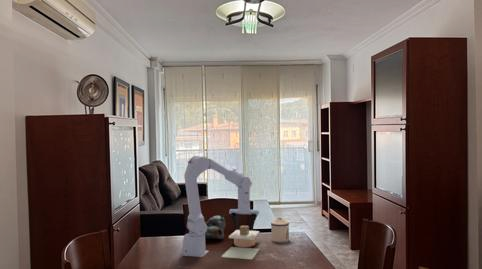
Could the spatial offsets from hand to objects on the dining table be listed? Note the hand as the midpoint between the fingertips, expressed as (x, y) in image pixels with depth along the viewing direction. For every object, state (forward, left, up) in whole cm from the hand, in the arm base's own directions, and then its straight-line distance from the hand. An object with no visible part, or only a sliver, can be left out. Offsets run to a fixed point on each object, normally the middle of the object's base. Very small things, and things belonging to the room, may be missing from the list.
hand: (244, 229), depth 175 cm
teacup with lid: (+15, +12, -8) cm, 21 cm away
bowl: (0, 0, -8) cm, 8 cm away
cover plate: (0, 0, -3) cm, 3 cm away
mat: (+2, -13, -8) cm, 15 cm away
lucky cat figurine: (-19, +6, -8) cm, 21 cm away
